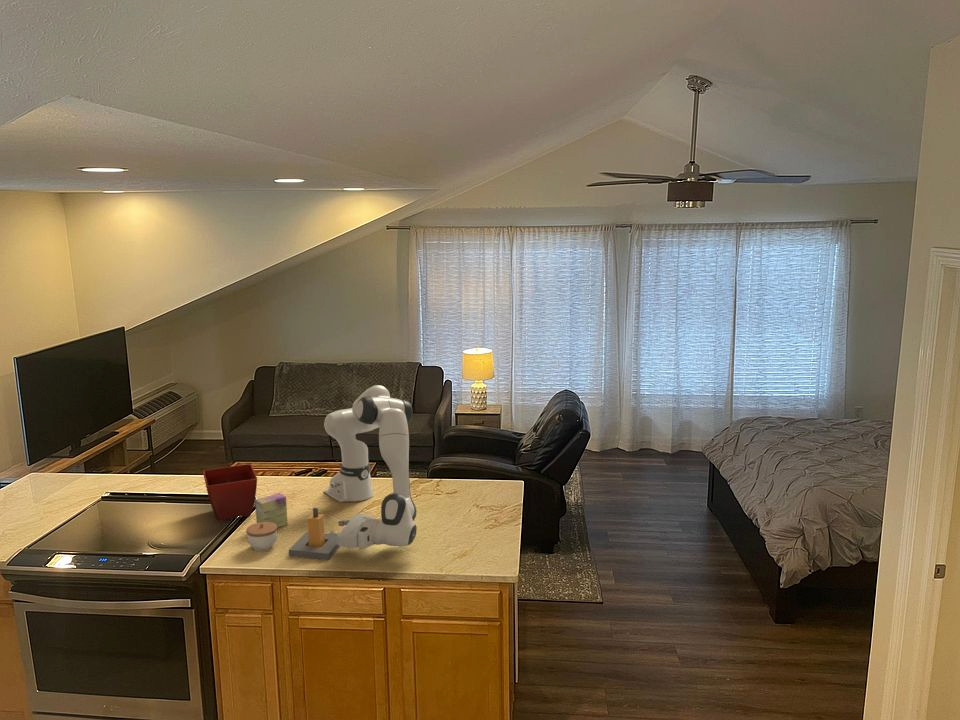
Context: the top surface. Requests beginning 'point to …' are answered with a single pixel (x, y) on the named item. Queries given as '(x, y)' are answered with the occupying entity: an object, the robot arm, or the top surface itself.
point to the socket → (314, 548)
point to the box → (272, 509)
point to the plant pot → (231, 490)
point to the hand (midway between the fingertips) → (334, 528)
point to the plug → (316, 529)
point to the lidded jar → (262, 535)
